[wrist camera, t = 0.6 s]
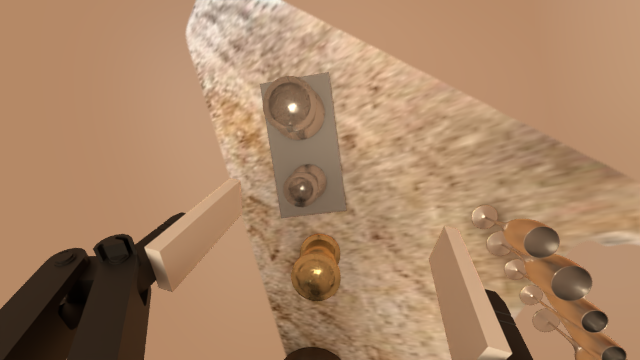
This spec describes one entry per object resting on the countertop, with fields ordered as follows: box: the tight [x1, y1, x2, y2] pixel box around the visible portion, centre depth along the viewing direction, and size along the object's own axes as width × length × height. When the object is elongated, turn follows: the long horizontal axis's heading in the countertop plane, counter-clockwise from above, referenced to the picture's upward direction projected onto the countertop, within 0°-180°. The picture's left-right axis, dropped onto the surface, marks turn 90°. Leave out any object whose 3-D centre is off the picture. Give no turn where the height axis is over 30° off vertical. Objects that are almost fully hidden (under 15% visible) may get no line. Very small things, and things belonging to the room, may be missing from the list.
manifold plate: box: [260, 72, 346, 218], centre depth 42 cm, size 24×12×2 cm, turn 8°
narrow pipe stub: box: [283, 164, 327, 207], centre depth 37 cm, size 6×6×9 cm
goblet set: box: [472, 205, 627, 360], centre depth 36 cm, size 28×6×13 cm, turn 33°
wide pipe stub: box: [263, 76, 325, 140], centre depth 37 cm, size 9×9×8 cm
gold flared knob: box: [291, 234, 340, 301], centre depth 40 cm, size 8×8×9 cm
